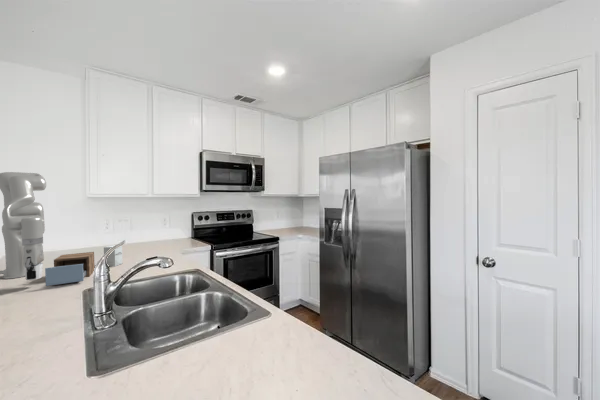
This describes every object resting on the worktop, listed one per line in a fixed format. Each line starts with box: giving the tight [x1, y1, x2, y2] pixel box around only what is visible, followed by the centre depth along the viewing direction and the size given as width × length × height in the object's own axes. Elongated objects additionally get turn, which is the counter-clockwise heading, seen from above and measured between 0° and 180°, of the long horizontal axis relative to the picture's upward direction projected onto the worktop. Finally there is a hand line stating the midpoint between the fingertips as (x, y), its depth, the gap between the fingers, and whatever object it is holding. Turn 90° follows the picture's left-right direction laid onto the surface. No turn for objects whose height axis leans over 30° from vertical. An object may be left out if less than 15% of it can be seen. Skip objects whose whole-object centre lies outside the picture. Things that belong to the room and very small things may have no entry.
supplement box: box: [103, 244, 123, 268], centre depth 175 cm, size 7×7×13 cm
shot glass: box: [24, 262, 44, 281], centre depth 134 cm, size 7×7×7 cm
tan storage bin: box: [53, 251, 95, 278], centre depth 153 cm, size 14×15×12 cm
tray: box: [44, 264, 87, 287], centre depth 141 cm, size 14×15×9 cm
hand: (33, 276), depth 134 cm, fingers closed on shot glass, 5 cm apart
